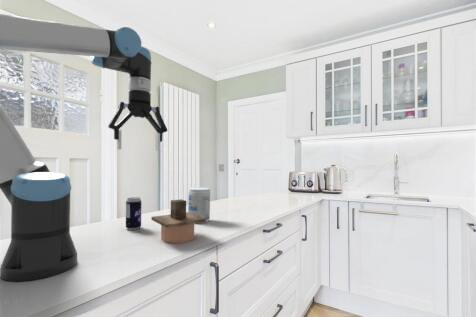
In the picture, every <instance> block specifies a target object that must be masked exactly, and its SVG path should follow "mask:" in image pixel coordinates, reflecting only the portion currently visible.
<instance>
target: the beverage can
mask: <svg viewBox="0 0 476 317" xmlns="http://www.w3.org/2000/svg"><path fill="white" fill-rule="evenodd" d="M141 227H142V200H141V197H139V196H138V197H137V196H136V197H135V196H134V197H133V196H132V197H127V198H126V200H125V228H126V229H127V230H130V231H136V230H139V229H140V228H141Z"/></svg>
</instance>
